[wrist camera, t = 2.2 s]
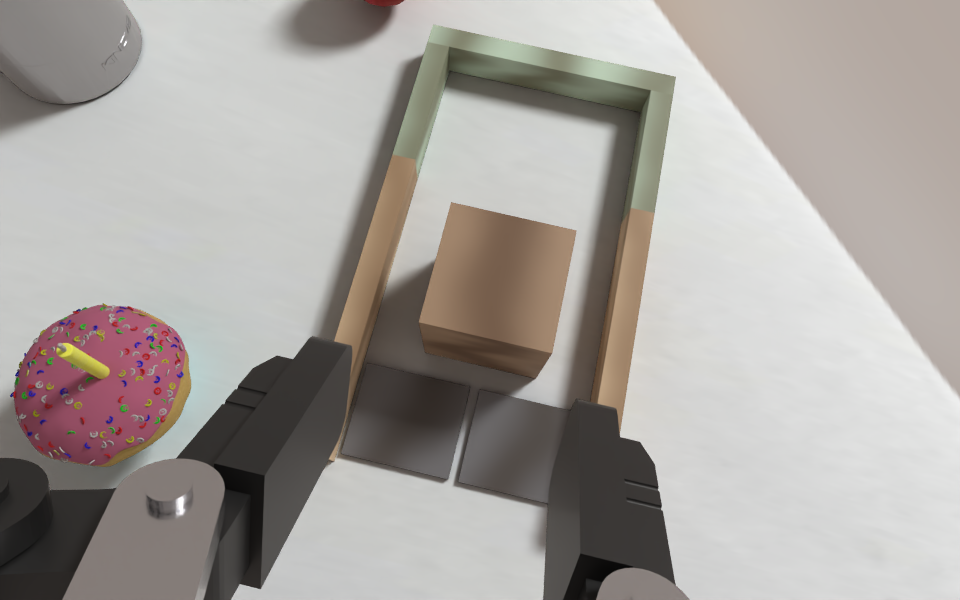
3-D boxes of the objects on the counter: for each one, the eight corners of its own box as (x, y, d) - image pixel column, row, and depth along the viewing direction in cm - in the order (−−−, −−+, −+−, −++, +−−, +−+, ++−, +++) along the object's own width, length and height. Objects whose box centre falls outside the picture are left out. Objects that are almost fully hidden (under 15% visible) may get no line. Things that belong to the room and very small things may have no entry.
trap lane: (309, 455, 36) (299, 452, 34) (434, 49, 46) (433, 24, 43) (595, 524, 36) (605, 525, 33) (664, 99, 45) (675, 76, 43)
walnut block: (425, 352, 39) (418, 322, 32) (452, 251, 41) (451, 202, 34) (535, 378, 38) (552, 353, 32) (556, 275, 41) (576, 230, 34)
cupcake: (217, 320, 39) (118, 244, 27) (218, 460, 36) (109, 440, 25) (73, 337, 38) (-90, 266, 27) (64, 480, 36) (-120, 470, 24)
